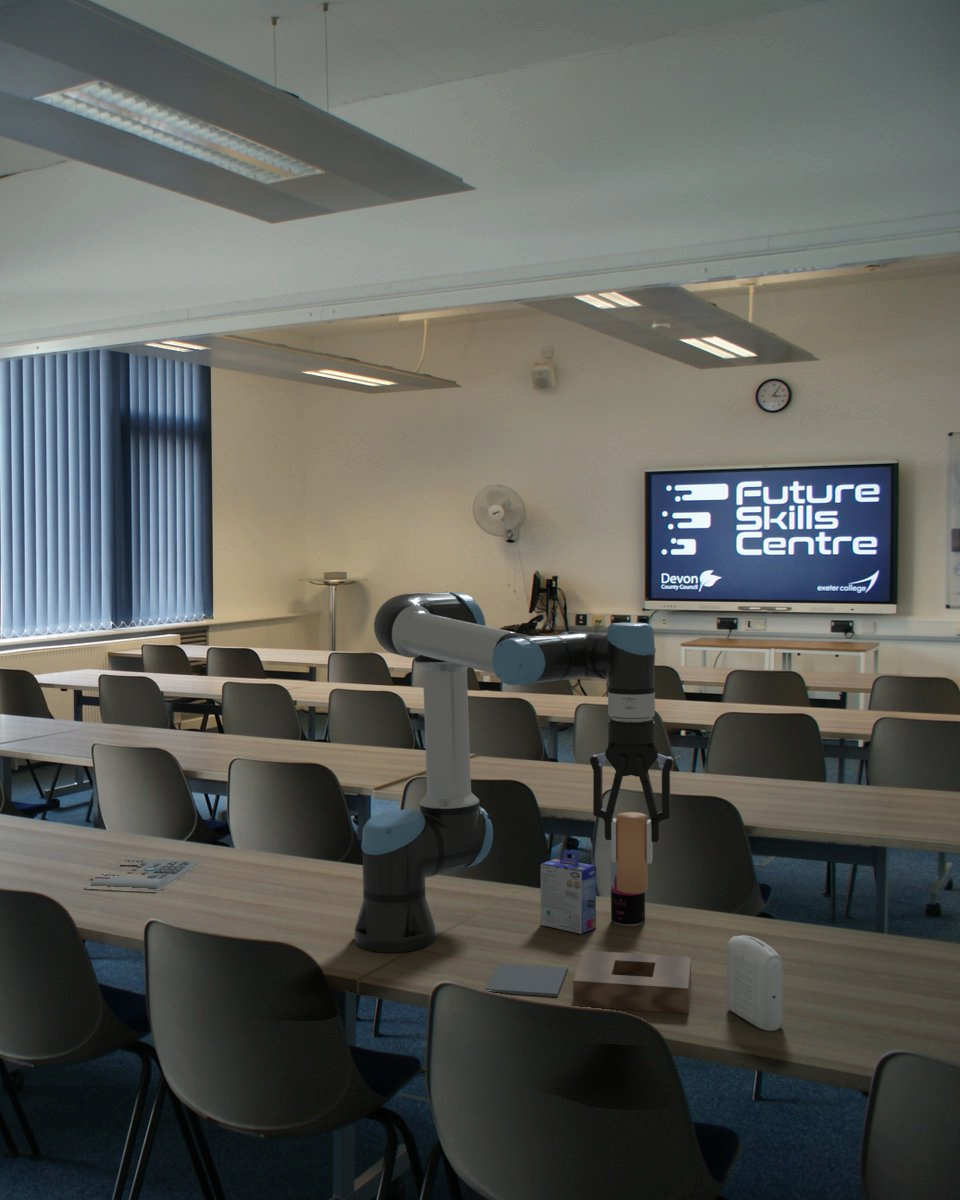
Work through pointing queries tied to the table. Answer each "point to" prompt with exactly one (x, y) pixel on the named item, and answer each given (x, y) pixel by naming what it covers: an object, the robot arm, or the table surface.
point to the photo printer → (755, 982)
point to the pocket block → (633, 981)
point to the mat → (527, 979)
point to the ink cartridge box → (568, 894)
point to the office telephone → (150, 874)
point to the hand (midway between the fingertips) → (632, 860)
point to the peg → (632, 852)
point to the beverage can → (625, 903)
